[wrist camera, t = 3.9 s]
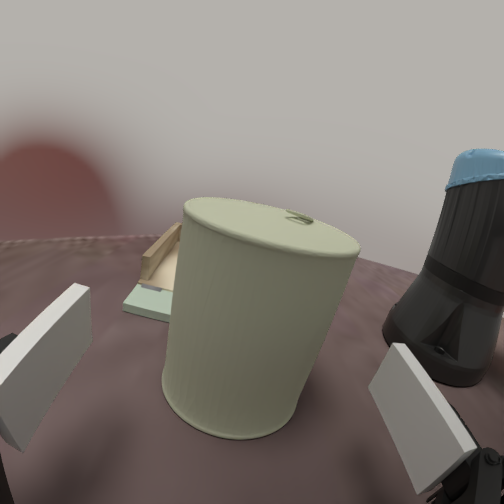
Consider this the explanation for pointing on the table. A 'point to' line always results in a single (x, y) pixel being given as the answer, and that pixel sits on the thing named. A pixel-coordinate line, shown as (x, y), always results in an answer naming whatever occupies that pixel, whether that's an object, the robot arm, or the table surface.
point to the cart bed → (162, 260)
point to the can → (249, 313)
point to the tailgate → (149, 302)
